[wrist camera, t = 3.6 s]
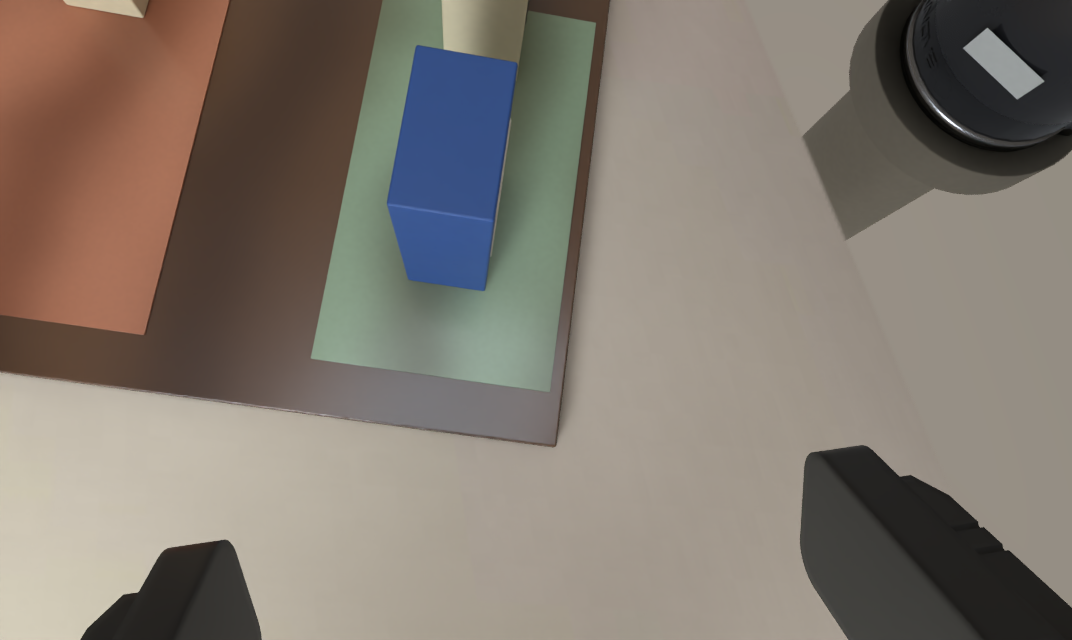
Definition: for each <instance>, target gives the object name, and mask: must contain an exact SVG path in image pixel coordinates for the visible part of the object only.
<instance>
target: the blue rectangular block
mask: <svg viewBox="0 0 1072 640" xmlns="http://www.w3.org/2000/svg"><path fill="white" fill-rule="evenodd" d="M517 68H518V64H517V63H516V62H512V61H507V60H501V59H495V58H490V57H484V56H478V55H472V54H467V53H461V52H455V51H450V50H444V49H438V48H433V47H427V46H421V45H417V46H416V48H415V53H414V58H413V64H412V69H411V74H410V80H409V85H408V91H407V96H406V101H405V107H404V112H403V117H402V123H401V128H400V133H399V139H398V144H397V150H396V155H395V160H394V166H393V171H392V176H391V182H390V187H389V193H388V198H387V207H388V210H389V214H390V217H391V221H392V224H393V228H394V231H395V235H396V238H397V242H398V246H399V249H400V253H401V256H402V260H403V263H404V267H405V270H406V274H407V277H408V279H409V280H412V281H419V282H426V283H432V284H439V285H446V286H452V287H459V288H465V289H472V290H479V291H485V288H486V281H487V274H488V268H489V261H490V257H491V256H492V249H493V243H494V236H495V229H496V222H497V216H498V209H499V202H500V196H501V189H502V182H503V175H504V168H505V161H506V154H507V147H508V141H509V134H510V127H511V111H512V103H513V96H514V89H515V82H516V75H517Z"/></svg>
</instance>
